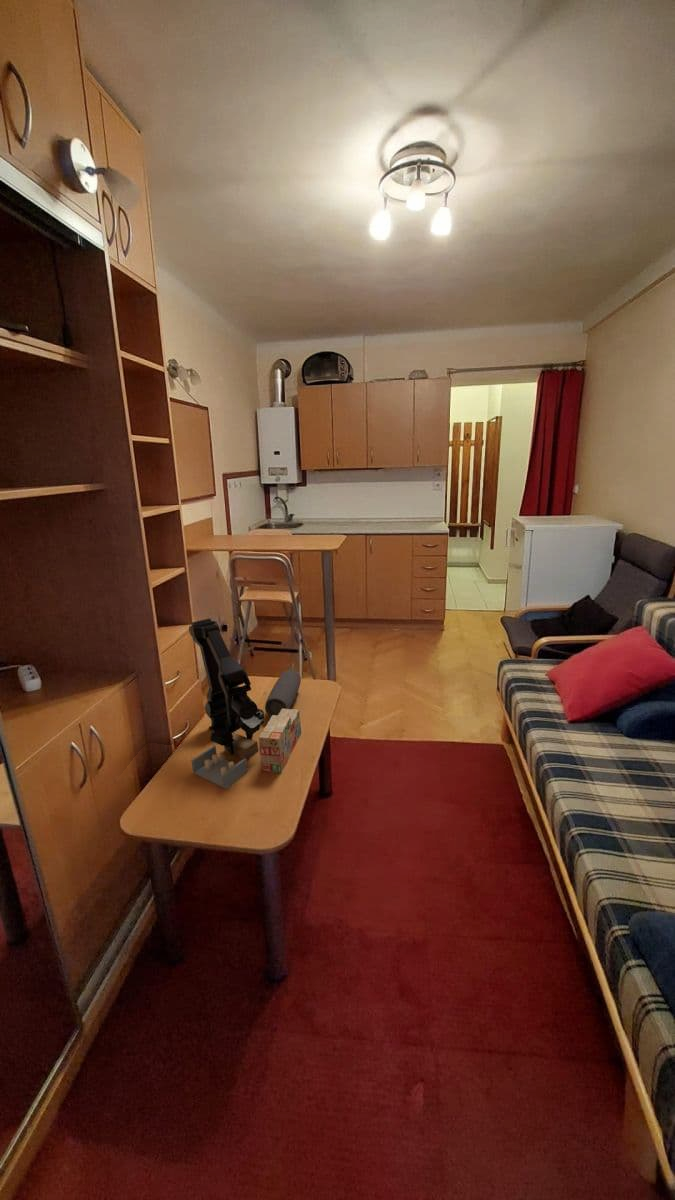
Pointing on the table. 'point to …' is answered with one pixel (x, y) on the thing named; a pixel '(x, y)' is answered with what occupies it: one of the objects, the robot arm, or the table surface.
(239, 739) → the brown rectangular block
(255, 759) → the table surface
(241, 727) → the robot arm
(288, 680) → the bluetooth speaker
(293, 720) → the stack of blocks
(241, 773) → the cradle
